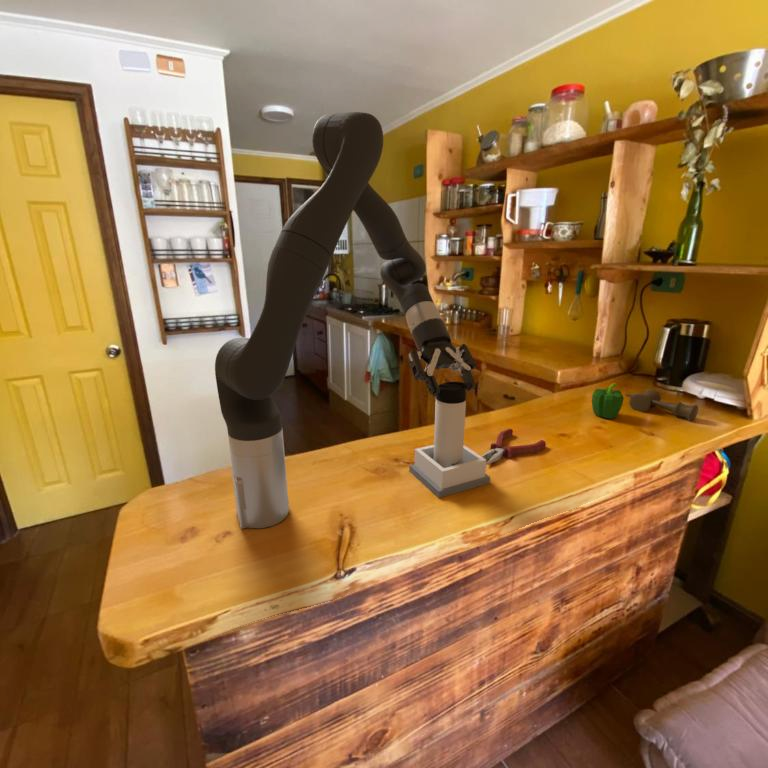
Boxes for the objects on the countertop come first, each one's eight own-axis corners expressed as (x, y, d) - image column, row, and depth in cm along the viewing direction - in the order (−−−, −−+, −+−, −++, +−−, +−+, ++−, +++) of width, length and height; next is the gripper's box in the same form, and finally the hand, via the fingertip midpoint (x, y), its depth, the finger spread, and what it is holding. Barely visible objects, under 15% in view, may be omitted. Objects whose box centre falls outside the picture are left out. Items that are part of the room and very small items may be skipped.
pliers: (461, 457, 101) (462, 448, 100) (507, 434, 113) (508, 426, 113) (502, 476, 92) (503, 466, 92) (547, 449, 105) (548, 440, 104)
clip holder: (438, 498, 83) (439, 473, 82) (409, 471, 94) (409, 449, 92) (489, 483, 89) (491, 460, 87) (456, 459, 99) (458, 438, 97)
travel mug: (461, 479, 87) (466, 389, 81) (430, 474, 89) (433, 386, 83) (465, 465, 93) (470, 380, 87) (436, 461, 95) (439, 377, 89)
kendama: (687, 426, 119) (615, 405, 134) (699, 419, 125) (629, 400, 140) (693, 407, 117) (619, 387, 132) (704, 401, 123) (633, 383, 138)
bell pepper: (602, 422, 121) (608, 389, 118) (584, 412, 128) (589, 381, 125) (627, 420, 122) (633, 387, 119) (608, 410, 130) (613, 379, 127)
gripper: (404, 319, 85) (432, 388, 79) (461, 314, 91) (492, 378, 84) (392, 340, 91) (417, 405, 85) (447, 334, 97) (474, 395, 91)
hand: (454, 392), depth 85 cm, fingers open, 8 cm apart
